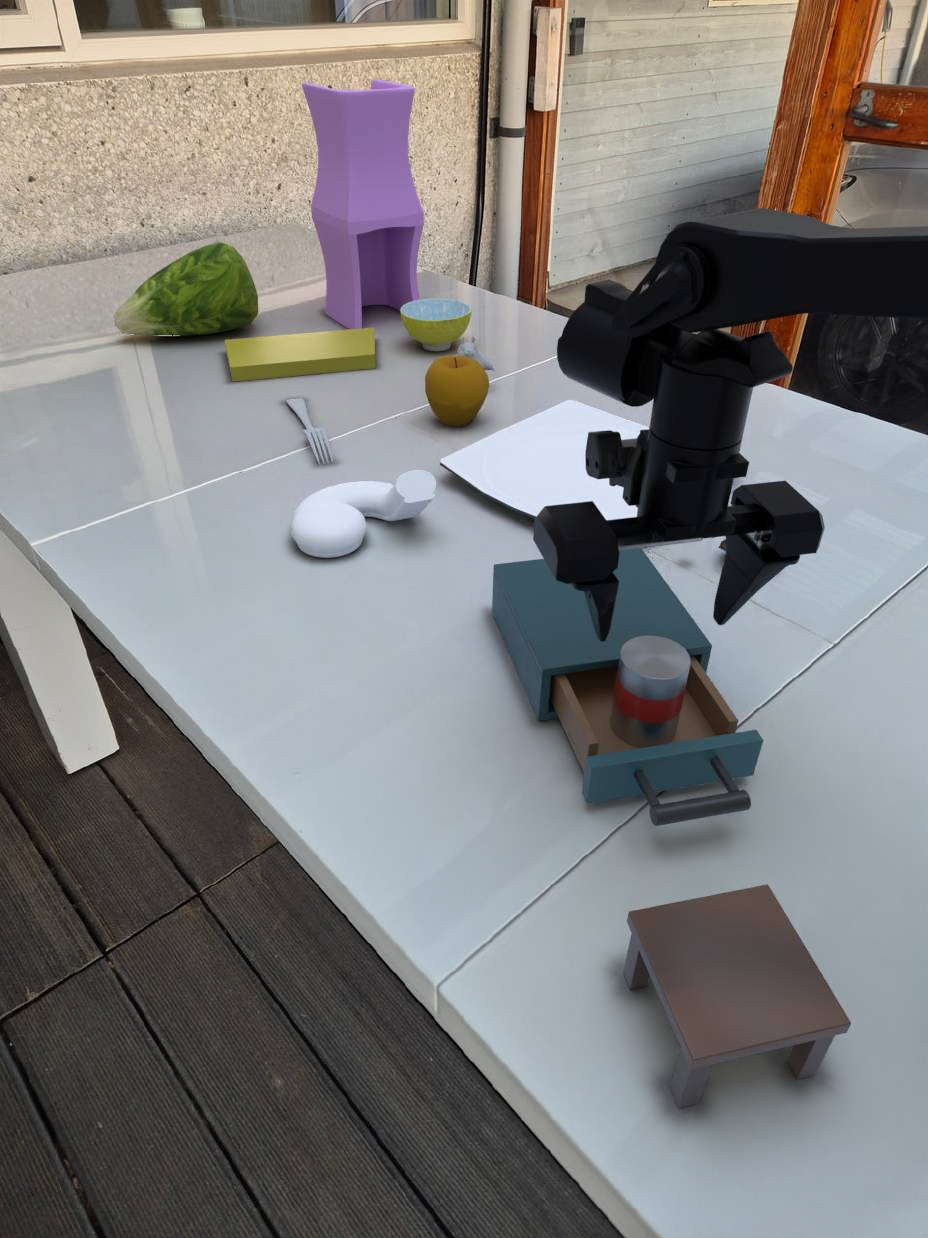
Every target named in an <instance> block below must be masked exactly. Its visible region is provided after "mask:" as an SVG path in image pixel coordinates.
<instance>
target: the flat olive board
mask: <svg viewBox="0 0 928 1238" xmlns="http://www.w3.org/2000/svg"><path fill="white" fill-rule="evenodd" d="M375 335H376V334H375V326H374V327H373V326H372V327H362V328H361V329H340V330H339V329H337V330H326V331H325V330H324V331H314V332H303V333H292V334H291V333H289V334H279V335H278V334H277V335H266V336H253V337H243V338H242V337H241V338H232V339H224V347H225V353H226V358H227V363H228V367H229V371H230V375H231V380H232V382H243V381H254V380H265V379H274V378H275V379H276V378H286V377H297V376H307V375H317V374H319V375H320V374H329V373H340V372H350V371H360V370H371V369H376V337H375Z"/></svg>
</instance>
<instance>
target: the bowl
mask: <svg viewBox="0 0 928 1238" xmlns="http://www.w3.org/2000/svg"><path fill="white" fill-rule="evenodd" d="M399 312H400V318H401V321H402V324H403V327H404V329H405V330H406V332H407V334H409V336H411V337H412V338H413V339H414V340H415V341H417V342H419V343H421V344H422V348H423V349H424V350H425V351H430V352H443V351H447V350H449V349H450V348H451V347H452V346H451V344H452V343H453V342H456V341H457V340H459V339H460V338H461V337H462V336H463V335H464V333H465V332H466V330H467V329H468V327H469V326H470V325H469V324H470V322H471V319H472V312H473V309H472V306H471V305H470V304H468V303H466V302H464V301H462V300H457V299H451V298H441V297H440V298H437V297H436V298H433V297H432V298H420V300H415V301H412V302H409V303H406V304H405V305H403V306H402V307H401V309H400V311H399Z"/></svg>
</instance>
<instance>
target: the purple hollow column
mask: <svg viewBox="0 0 928 1238" xmlns="http://www.w3.org/2000/svg"><path fill="white" fill-rule="evenodd" d="M301 87H302V91H303V94H304V98H305V100H306V103H307V106H308V109H309V113H310V116H311V120H312V123H313V128H314V133H315V138H316V139H315V140H316V145H317V150H318V151H317V158H318V159H317V172H316V173H317V174H316V181H315V186H314V191H313V195H312V199H311V204H310V212H311V219H312V222H313V225H314V228H315V231H316V235H317V238H318V241H319V245H320V248H321V252H322V257H323V262H324V268H325V269H324V270H325V280H326V281H325V283H326V284H325V285H326V288H325V289H326V290H325V291H326V292H325V304H324V314H325V315H326V316H328V317H329V318H331V319H332V320H334V321H335V322H337V323H339V324H340V325H341V326H344V327H345V328H346V329H347V330H349V329H361V328H363V318H362V317H363V315H362V314H363V313H362V307H366V306H367V307H368V306H373V305H374V306H376V305H378V306H389V307H392V308H394V309H395V310H398V311H399V312H400V309H401V307H402V306H403V305H405V304H406V303H409V302H412V301H415V300H421V298H420V292H419V286H418V276H417V275H418V256H419V250H420V244H421V239H422V235H423V230H424V226H425V213H424V210H423V207H422V204H421V202H420V199H419V196H418V193H417V190H416V187H415V183H414V178H413V175H412V170H411V164H410V163H411V162H410V157H409V133H410V122H411V115H412V114H411V113H412V108H413V102H414V96H415V89H416V87H414V86H412V85H408V84H403V83H398V82H392V81H390V80H389V81H387V80H384V79H371V81H370V89H359V90H357V89H356V90H355V89H353V90H351V89H350V90H348V89H336V88H332V87H326V86H323V85H318V84H314V83H310V82H305V83H304V82H303V83H301Z"/></svg>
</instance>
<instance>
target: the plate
mask: <svg viewBox="0 0 928 1238" xmlns="http://www.w3.org/2000/svg"><path fill="white" fill-rule="evenodd" d="M649 427H650V426H647V425H644V424H641V423H638V422H636V421H633V420H629V419H627V418H624V417H621V416H618V415H616V414H613V413H610V412H608V411H604V410H601V409H599V408H596V407H593V406H590V405H588V404H585V403H582V402H580V401H577V400H574V399H567V400H564V401H562V402H560V403H558V404H555V405H553V406H552V407H549V408H547V409H545V410H542V411H540V412H539V413H536V414H534V415H531V416H529V417H527V418H525V419H522V420H520V421H518V422H516V423H513V424H511V425H509V426H507V427H505V428H502V429H500V430H498V431H496V432H494V433H492V434H489V435H488V436H486V437H483V438H481V439H480V440H478V441H475V442H474V443H471V444H469V445H467V446H465V447H463V448H460V449H459V450H456V451H454V452H452V453H450V454H448V455H446V456H445V457H442V458H439V466H441V467H442V468H444V469H445V470H446V471H448V472H449V473H451V474H452V475H453V476H455V477H457V479H459V480H461V482H463V483H465V484H466V485H468V486H469V487H471V488H472V489H473V490H475V491H476V492H478V493H479V494H481V495H482V496H484V497H485V498H487V499H489V500H491V501H493V502H495V503H497V504H499V505H500V506H503V507H505V508H507V509H509V510H511V511H513V512H514V513H517V514H520V515H522V516H525V517H527V518H529V519H532V520H535V518H536V517H537V515H538V514H539V513H540V511H541V510H542V509H543V508H544V507H545V506H551V505H560V504H570V503H579V502H588V501H593V502H594V504H595V505H596V506H597V508H598V509H599V511H600V512H601V514H602V515H603V516H604V518H605V519H606V520H614V519H623V518H632V517H637V509H638V508H637V507H636V506H635V505H633V506H628V504H627V503H626V502H625V500H624V499H623V498H622V497H623V489H624V487H621V486H618V485H616V486H610V485H609V478H608V479H596V478H593V477H590V476H589V475H588V474H587V471H586V462H585V452H586V445H587V438H588V432H596V431H607V430H611V431H613V432H619V433H620V436H621V440H625V439H636V438H637V437H638V435H639V434H640V430H647V429H649Z"/></svg>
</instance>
